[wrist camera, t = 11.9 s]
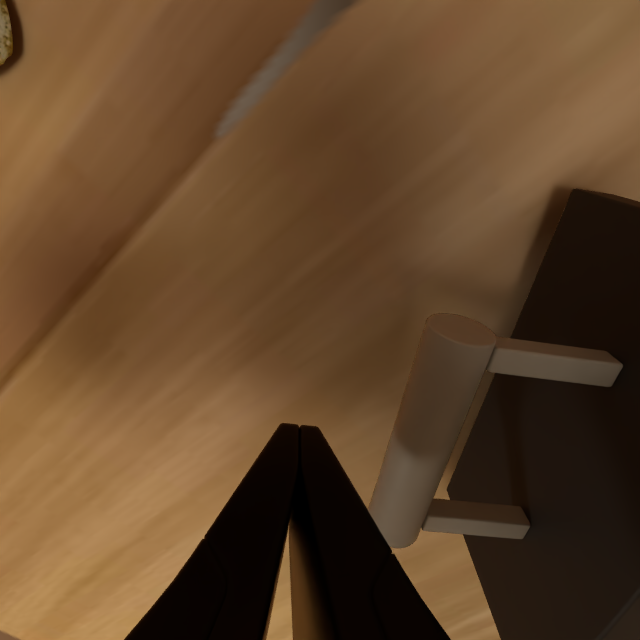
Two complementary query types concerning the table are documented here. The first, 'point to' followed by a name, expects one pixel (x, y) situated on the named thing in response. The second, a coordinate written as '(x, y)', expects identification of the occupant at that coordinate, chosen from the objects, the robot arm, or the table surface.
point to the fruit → (5, 33)
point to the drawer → (537, 438)
